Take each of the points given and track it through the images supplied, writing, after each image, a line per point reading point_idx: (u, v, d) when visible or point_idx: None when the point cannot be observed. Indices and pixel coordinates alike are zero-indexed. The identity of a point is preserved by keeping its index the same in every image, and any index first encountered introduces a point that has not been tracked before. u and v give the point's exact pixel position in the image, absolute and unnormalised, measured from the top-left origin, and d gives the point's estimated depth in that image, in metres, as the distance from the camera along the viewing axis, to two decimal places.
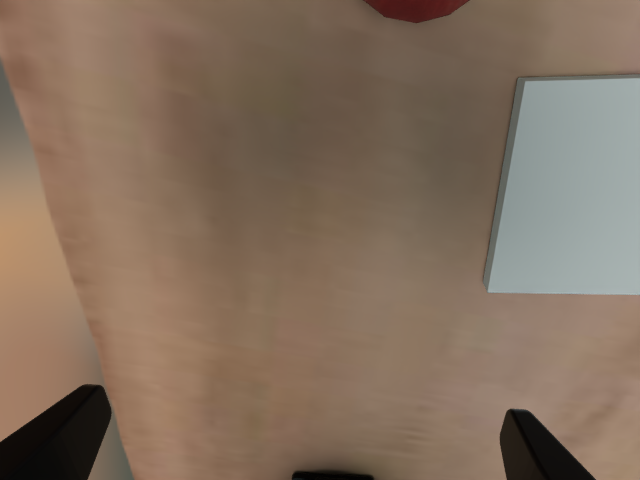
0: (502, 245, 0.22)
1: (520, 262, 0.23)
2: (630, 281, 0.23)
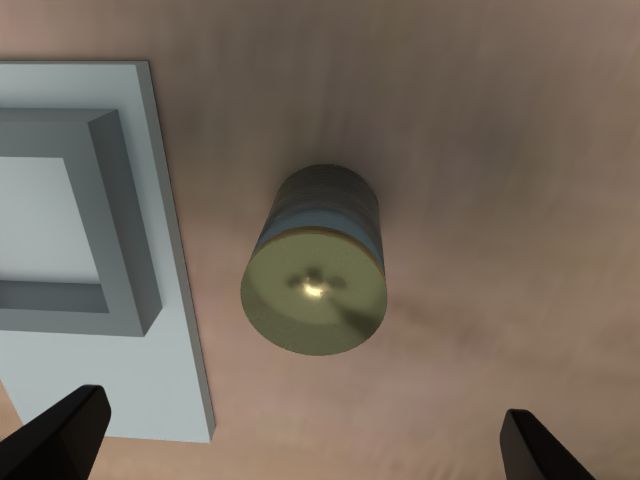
0: (158, 435, 0.25)
1: (172, 424, 0.24)
2: (174, 346, 0.21)
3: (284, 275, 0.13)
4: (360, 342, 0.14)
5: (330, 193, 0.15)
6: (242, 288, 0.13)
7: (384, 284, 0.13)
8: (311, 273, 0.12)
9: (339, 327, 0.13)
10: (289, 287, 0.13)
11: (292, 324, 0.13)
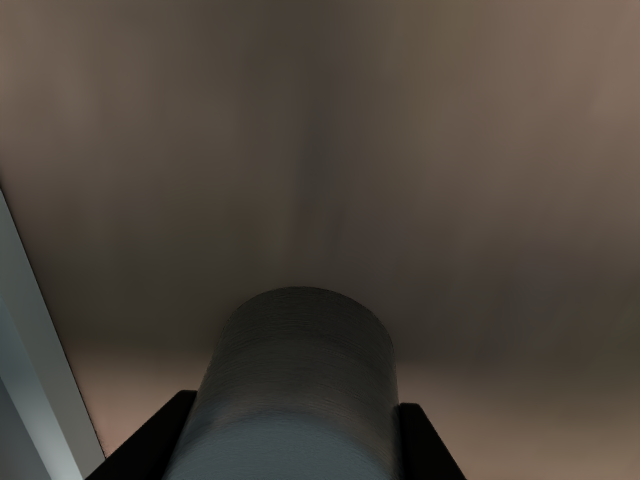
0: None
1: None
2: None
3: None
4: None
5: (305, 386, 0.07)
6: None
7: None
8: None
9: None
10: None
11: None
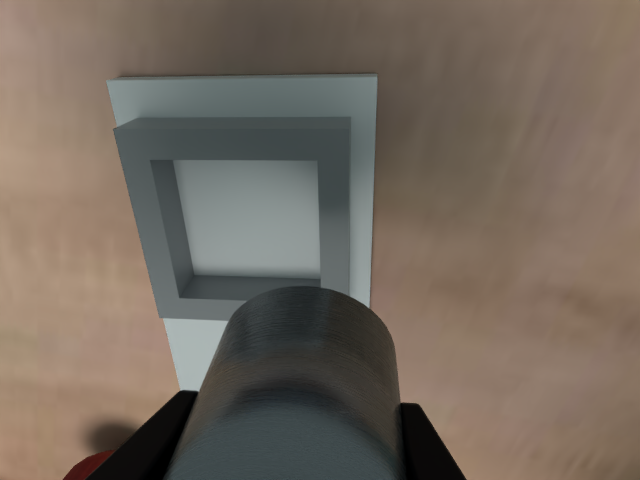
0: None
1: None
2: None
3: None
4: None
5: (307, 385, 0.07)
6: None
7: None
8: None
9: None
10: None
11: None
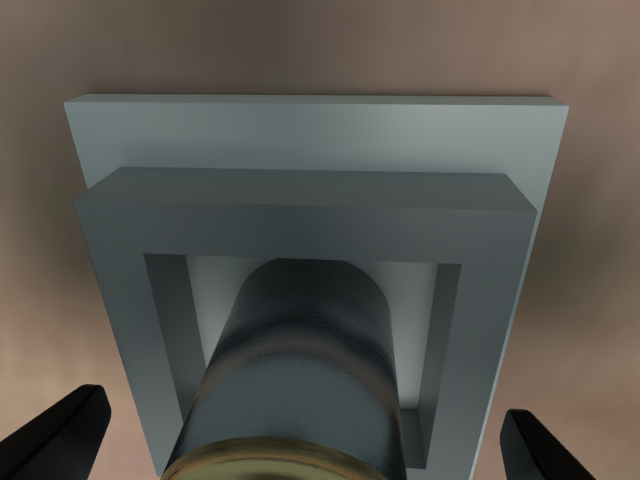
0: None
1: None
2: None
3: None
4: None
5: (313, 329, 0.09)
6: None
7: None
8: None
9: None
10: None
11: None
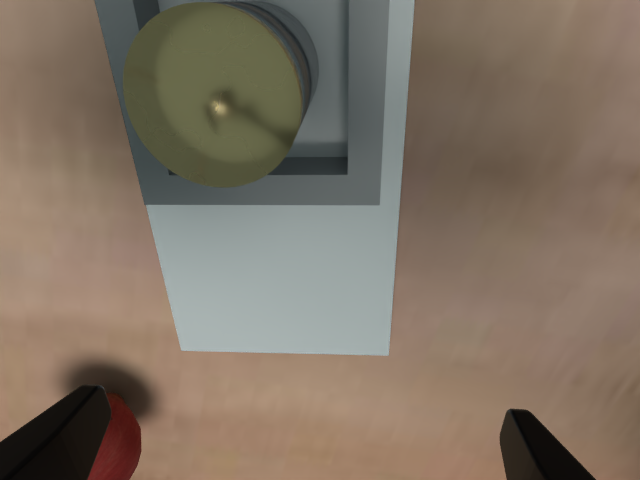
0: (331, 349, 0.22)
1: (351, 334, 0.22)
2: (378, 234, 0.19)
3: (171, 67, 0.10)
4: (276, 164, 0.11)
5: (243, 1, 0.12)
6: (125, 91, 0.11)
7: (294, 74, 0.10)
8: (203, 62, 0.10)
9: (248, 143, 0.11)
10: (180, 86, 0.10)
11: (192, 142, 0.11)
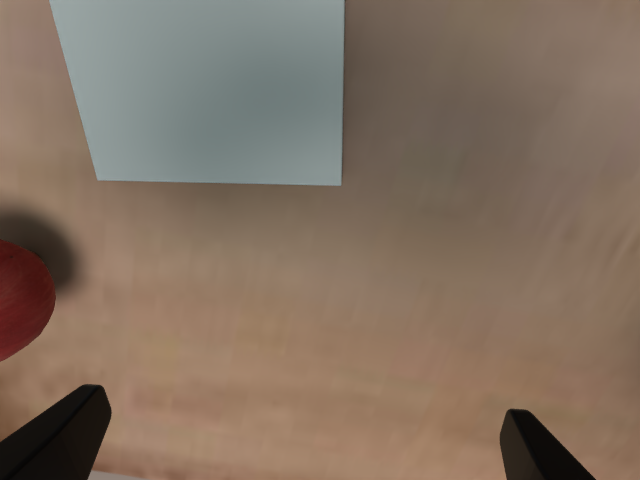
0: (272, 177, 0.19)
1: (295, 153, 0.18)
2: None
3: None
4: None
5: None
6: None
7: None
8: None
9: None
10: None
11: None
